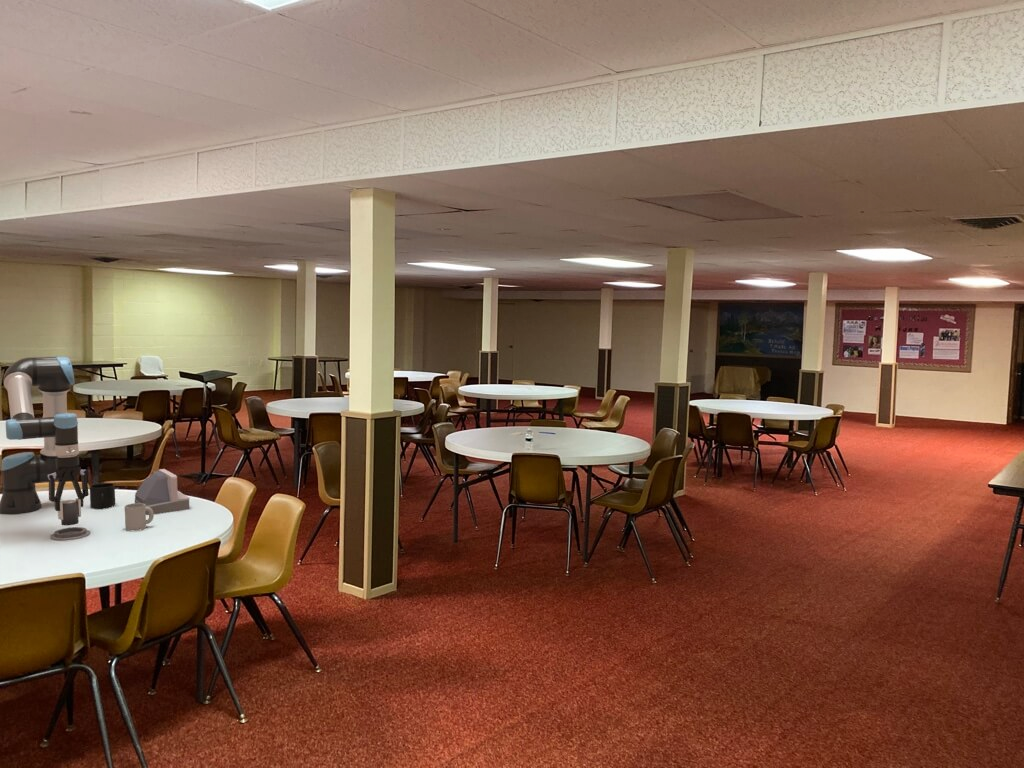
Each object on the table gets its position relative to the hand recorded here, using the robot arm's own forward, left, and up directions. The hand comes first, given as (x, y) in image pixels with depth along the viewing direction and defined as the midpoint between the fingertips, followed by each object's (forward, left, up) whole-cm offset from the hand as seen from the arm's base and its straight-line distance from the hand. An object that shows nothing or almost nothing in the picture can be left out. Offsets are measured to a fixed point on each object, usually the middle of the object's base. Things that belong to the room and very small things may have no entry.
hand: (69, 517), depth 297 cm
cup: (+8, +22, -7) cm, 24 cm away
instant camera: (-16, +42, -7) cm, 46 cm away
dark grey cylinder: (0, 0, -2) cm, 2 cm away
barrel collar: (0, 0, -7) cm, 7 cm away
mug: (-35, +26, -7) cm, 44 cm away
